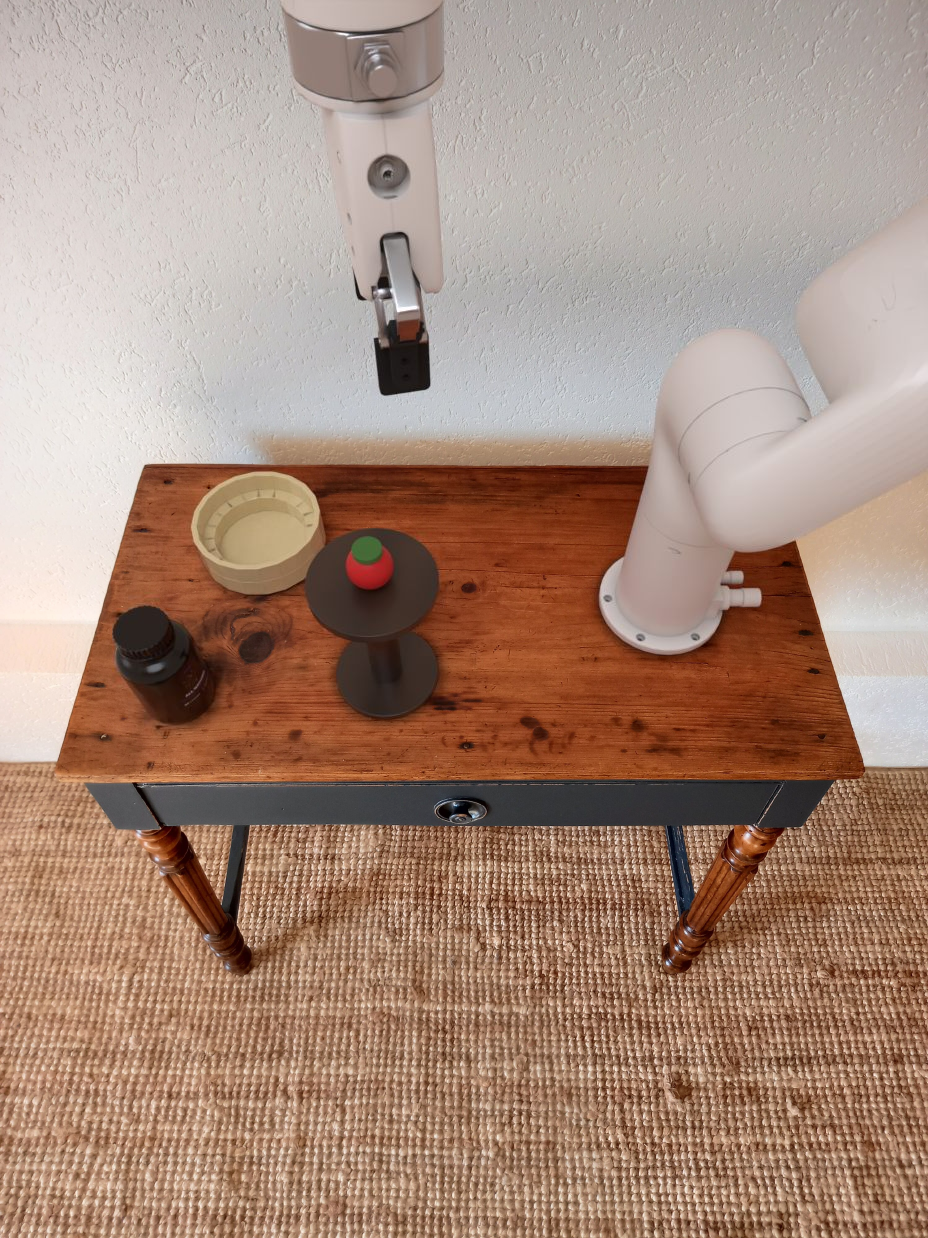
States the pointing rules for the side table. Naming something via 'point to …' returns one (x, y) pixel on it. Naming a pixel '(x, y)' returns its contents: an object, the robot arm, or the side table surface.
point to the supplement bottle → (162, 665)
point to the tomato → (369, 563)
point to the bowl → (258, 532)
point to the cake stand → (378, 624)
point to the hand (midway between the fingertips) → (391, 340)
